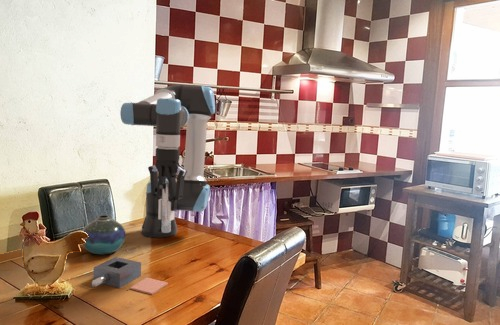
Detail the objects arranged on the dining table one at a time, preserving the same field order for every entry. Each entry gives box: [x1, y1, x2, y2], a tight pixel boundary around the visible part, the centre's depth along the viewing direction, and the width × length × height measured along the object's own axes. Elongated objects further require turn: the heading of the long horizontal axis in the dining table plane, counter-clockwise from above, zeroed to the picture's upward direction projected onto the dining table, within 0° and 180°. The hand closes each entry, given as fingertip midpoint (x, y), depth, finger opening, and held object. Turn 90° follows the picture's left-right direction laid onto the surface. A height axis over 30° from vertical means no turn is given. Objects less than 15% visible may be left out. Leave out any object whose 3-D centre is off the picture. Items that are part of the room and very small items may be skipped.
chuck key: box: [159, 183, 171, 233], centre depth 128 cm, size 6×3×16 cm, turn 158°
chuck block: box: [91, 256, 142, 289], centre depth 121 cm, size 15×10×4 cm, turn 158°
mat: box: [129, 277, 169, 296], centre depth 119 cm, size 8×8×1 cm
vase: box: [82, 214, 126, 255], centre depth 145 cm, size 15×15×13 cm
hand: (166, 219), depth 128 cm, fingers closed on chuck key, 3 cm apart
